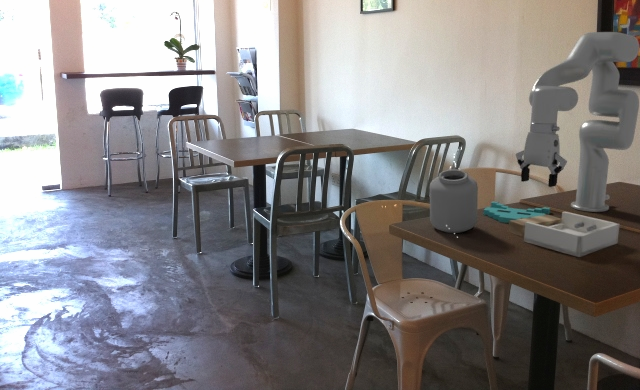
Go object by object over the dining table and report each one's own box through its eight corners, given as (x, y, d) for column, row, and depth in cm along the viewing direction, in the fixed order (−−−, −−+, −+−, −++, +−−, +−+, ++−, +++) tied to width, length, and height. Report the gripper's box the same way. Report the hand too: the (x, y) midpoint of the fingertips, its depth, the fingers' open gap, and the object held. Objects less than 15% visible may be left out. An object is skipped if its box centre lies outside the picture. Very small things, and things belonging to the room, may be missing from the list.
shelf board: (546, 226, 206) (547, 214, 205) (560, 231, 201) (561, 219, 200) (508, 232, 200) (509, 220, 199) (522, 237, 194) (523, 225, 193)
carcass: (562, 229, 201) (564, 211, 200) (617, 243, 187) (619, 223, 186) (523, 241, 189) (525, 222, 188) (579, 257, 176) (581, 236, 174)
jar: (468, 241, 190) (473, 159, 184) (421, 235, 196) (423, 155, 190) (480, 224, 207) (484, 149, 201) (436, 220, 213) (439, 146, 207)
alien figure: (492, 207, 231) (478, 220, 214) (492, 201, 230) (478, 214, 213) (549, 213, 222) (540, 228, 205) (550, 207, 221) (540, 221, 204)
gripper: (575, 130, 188) (570, 187, 192) (526, 125, 201) (521, 177, 205) (561, 132, 183) (556, 190, 187) (511, 126, 197) (507, 180, 201)
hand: (538, 183), depth 196 cm, fingers open, 9 cm apart
